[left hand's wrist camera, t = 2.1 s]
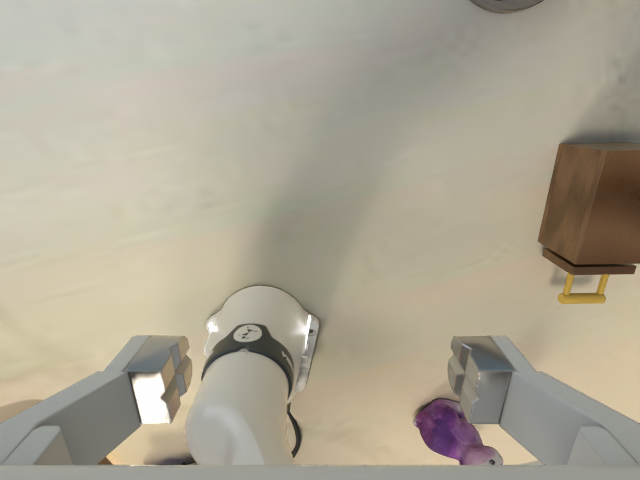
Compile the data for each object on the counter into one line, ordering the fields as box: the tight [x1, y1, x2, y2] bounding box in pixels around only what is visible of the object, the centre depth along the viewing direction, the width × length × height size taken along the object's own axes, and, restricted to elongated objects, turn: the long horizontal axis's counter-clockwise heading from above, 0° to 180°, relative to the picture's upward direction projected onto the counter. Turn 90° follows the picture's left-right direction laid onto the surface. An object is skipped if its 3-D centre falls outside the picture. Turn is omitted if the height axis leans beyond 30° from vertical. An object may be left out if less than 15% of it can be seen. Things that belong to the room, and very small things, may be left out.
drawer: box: [543, 249, 636, 304], centre depth 48 cm, size 19×8×7 cm, turn 1°
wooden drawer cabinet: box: [538, 143, 640, 264], centre depth 46 cm, size 14×10×8 cm, turn 1°
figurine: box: [413, 399, 503, 465], centre depth 58 cm, size 9×10×15 cm
